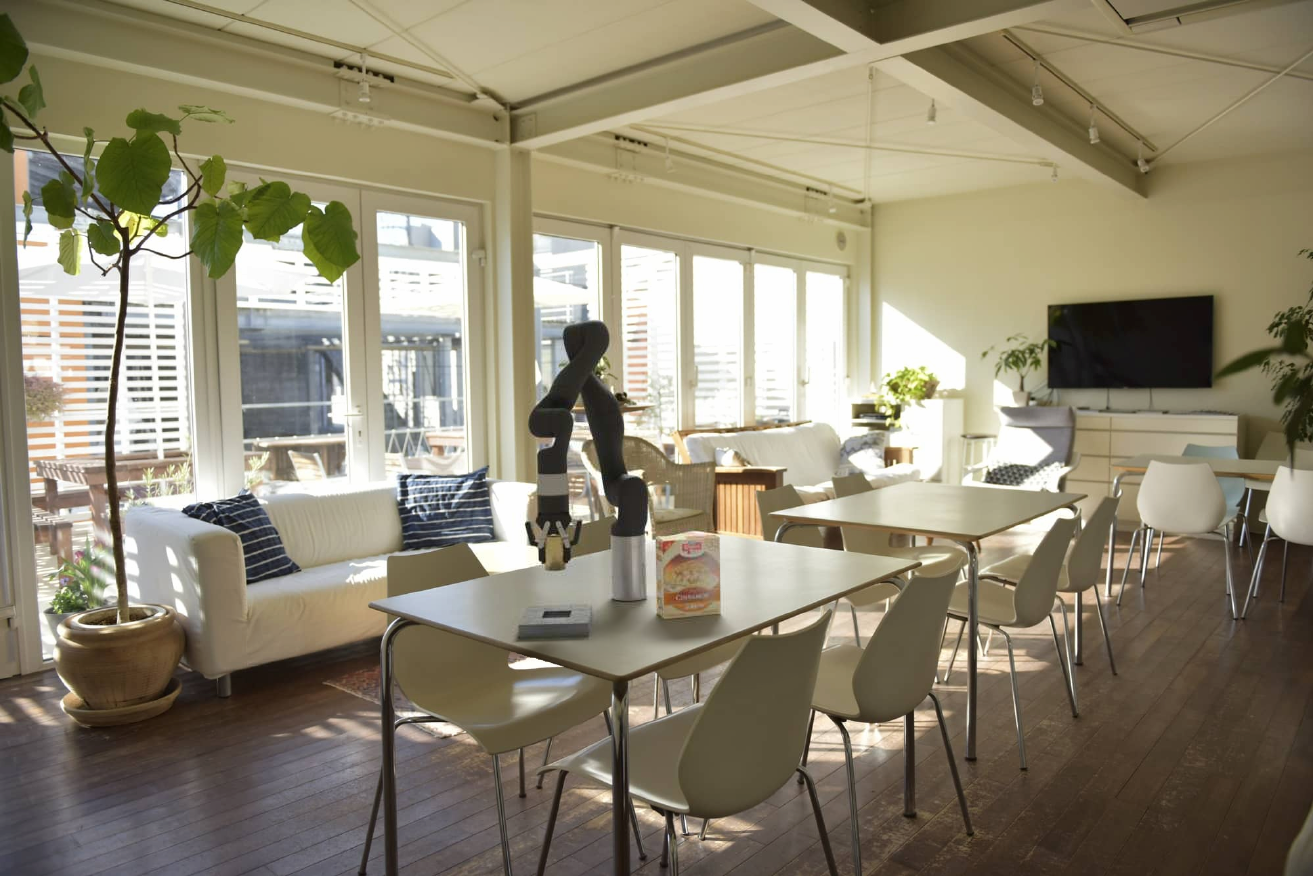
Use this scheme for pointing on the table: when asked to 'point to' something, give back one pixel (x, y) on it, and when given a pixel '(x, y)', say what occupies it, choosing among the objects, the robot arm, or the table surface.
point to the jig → (556, 621)
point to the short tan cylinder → (554, 553)
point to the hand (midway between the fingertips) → (554, 562)
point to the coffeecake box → (688, 575)
